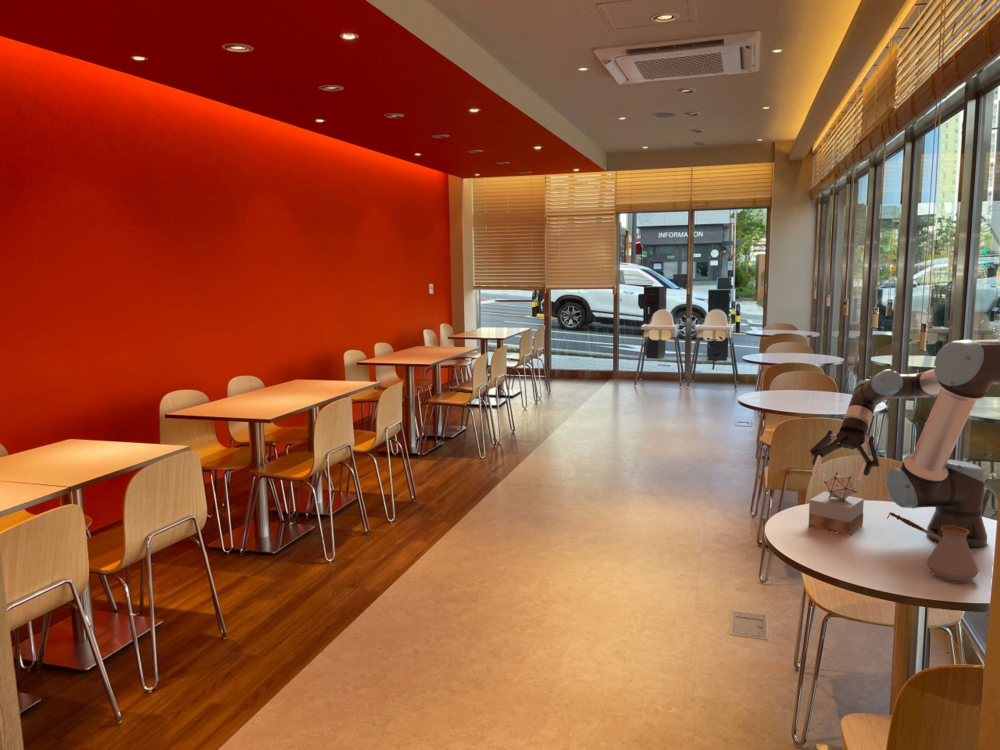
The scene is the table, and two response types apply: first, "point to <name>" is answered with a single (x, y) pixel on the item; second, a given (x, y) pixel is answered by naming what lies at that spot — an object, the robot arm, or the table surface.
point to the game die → (840, 487)
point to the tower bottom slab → (835, 524)
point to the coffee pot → (949, 554)
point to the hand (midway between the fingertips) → (836, 478)
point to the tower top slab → (836, 507)
